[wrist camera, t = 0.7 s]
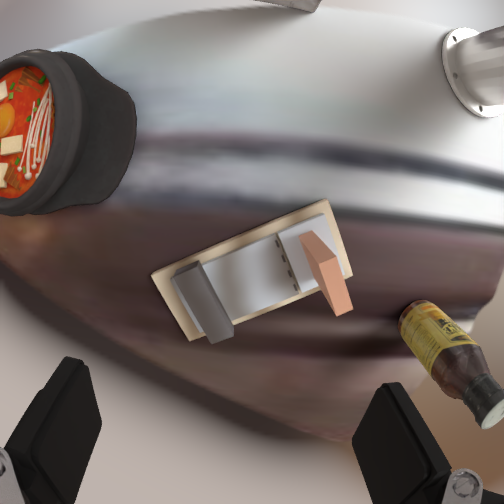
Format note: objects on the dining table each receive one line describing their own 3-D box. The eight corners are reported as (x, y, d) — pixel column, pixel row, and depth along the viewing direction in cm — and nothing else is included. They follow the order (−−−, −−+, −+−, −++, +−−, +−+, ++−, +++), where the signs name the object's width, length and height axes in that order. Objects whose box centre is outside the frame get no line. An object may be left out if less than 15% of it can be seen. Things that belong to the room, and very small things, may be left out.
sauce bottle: (440, 308, 37) (528, 395, 18) (412, 343, 38) (486, 441, 19) (414, 287, 35) (514, 381, 17) (385, 325, 37) (464, 435, 18)
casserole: (166, 68, 26) (144, 43, 18) (118, 237, 32) (86, 264, 24) (2, 54, 23) (-38, 43, 15) (-28, 188, 28) (-69, 200, 20)
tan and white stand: (322, 212, 31) (353, 235, 22) (342, 271, 33) (374, 309, 25) (277, 231, 31) (292, 261, 23) (300, 289, 33) (320, 333, 25)
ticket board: (325, 198, 31) (336, 204, 28) (350, 272, 34) (362, 285, 31) (152, 272, 33) (144, 286, 29) (190, 336, 36) (186, 355, 32)
